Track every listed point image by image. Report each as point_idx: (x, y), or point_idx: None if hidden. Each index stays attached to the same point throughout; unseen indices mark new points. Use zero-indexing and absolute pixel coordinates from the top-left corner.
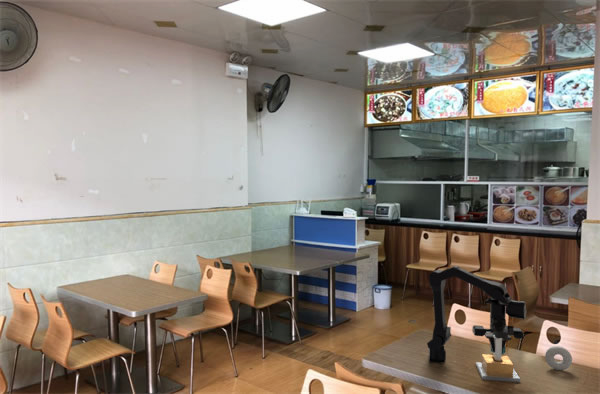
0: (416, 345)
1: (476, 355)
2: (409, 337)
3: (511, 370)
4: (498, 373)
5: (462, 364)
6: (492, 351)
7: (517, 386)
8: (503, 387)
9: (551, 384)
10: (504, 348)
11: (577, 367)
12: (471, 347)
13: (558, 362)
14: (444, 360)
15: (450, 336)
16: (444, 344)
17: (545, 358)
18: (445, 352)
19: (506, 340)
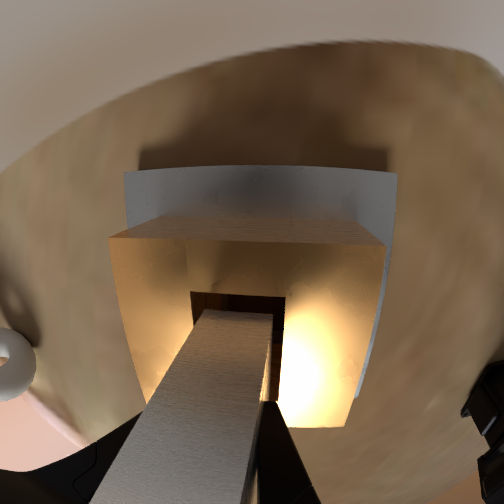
0: (469, 460)
1: None
2: (449, 488)
3: (150, 225)
4: (262, 218)
5: (418, 380)
6: None
7: (168, 102)
8: (265, 62)
9: (28, 193)
10: None
11: None
12: None
13: (6, 351)
14: (480, 385)
15: (499, 487)
16: (481, 456)
17: (27, 377)
18: (494, 411)
19: (5, 482)
